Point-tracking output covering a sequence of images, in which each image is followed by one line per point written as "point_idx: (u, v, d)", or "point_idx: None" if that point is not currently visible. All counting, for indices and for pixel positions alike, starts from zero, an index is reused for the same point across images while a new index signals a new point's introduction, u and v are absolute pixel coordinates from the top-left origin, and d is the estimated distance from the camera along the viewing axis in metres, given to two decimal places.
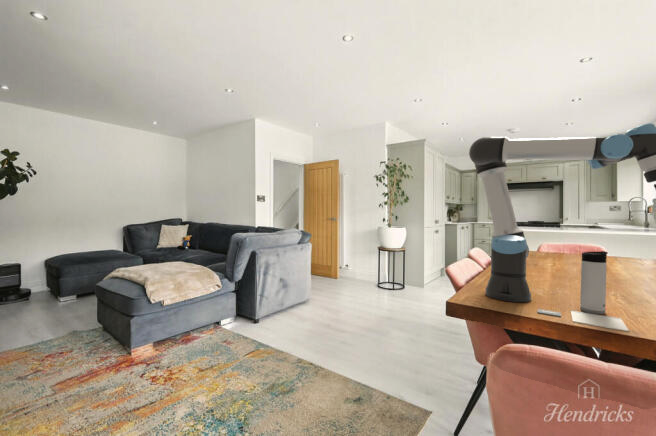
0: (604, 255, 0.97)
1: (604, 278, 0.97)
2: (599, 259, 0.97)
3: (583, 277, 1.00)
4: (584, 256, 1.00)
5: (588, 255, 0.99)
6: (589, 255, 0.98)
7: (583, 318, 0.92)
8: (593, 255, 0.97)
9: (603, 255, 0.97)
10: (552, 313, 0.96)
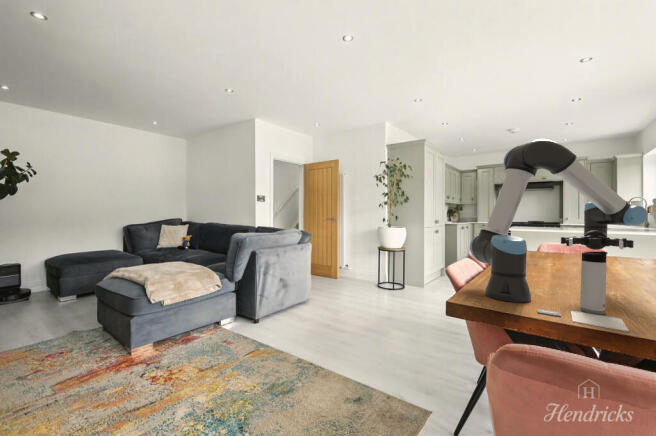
0: (604, 255, 0.97)
1: (604, 278, 0.97)
2: (599, 259, 0.97)
3: (583, 277, 1.00)
4: (584, 256, 1.00)
5: (588, 255, 0.99)
6: (589, 255, 0.98)
7: (583, 318, 0.92)
8: (593, 255, 0.97)
9: (603, 255, 0.97)
10: (552, 313, 0.96)
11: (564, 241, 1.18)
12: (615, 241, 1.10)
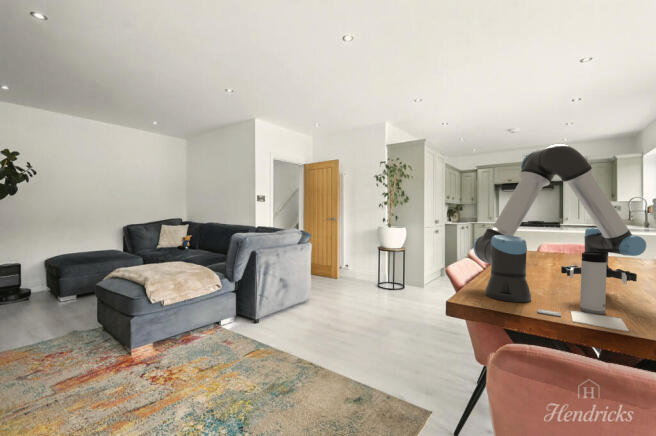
0: (604, 255, 0.97)
1: (604, 278, 0.97)
2: (599, 259, 0.97)
3: (583, 277, 1.00)
4: (584, 256, 1.00)
5: (588, 255, 0.99)
6: (589, 255, 0.98)
7: (583, 318, 0.92)
8: (593, 255, 0.97)
9: (603, 255, 0.97)
10: (552, 313, 0.96)
11: (565, 271, 1.14)
12: (617, 273, 1.06)
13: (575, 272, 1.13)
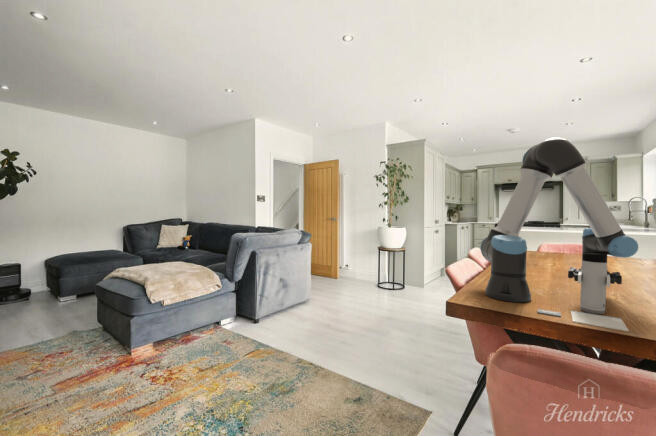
0: (605, 255, 0.97)
1: (605, 278, 0.97)
2: (600, 259, 0.97)
3: (583, 277, 1.00)
4: (585, 256, 1.00)
5: (589, 255, 0.98)
6: (590, 255, 0.98)
7: (583, 318, 0.92)
8: (594, 255, 0.97)
9: (604, 255, 0.96)
10: (552, 313, 0.96)
11: (572, 275, 1.05)
12: None
13: None
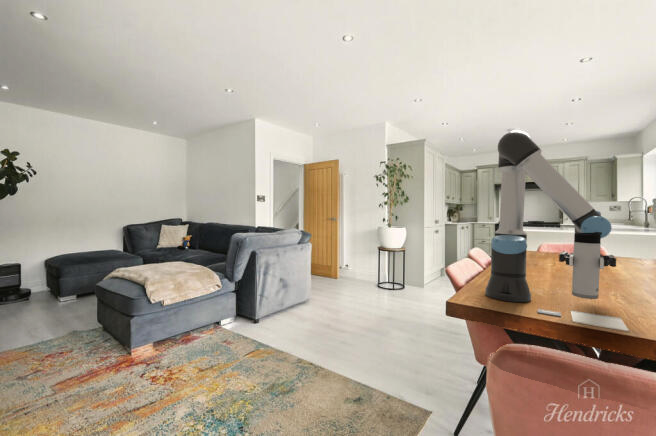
0: (598, 235, 0.90)
1: (598, 260, 0.90)
2: (593, 239, 0.90)
3: (575, 260, 0.93)
4: (577, 237, 0.93)
5: (581, 236, 0.91)
6: (582, 236, 0.91)
7: (583, 318, 0.92)
8: (586, 235, 0.90)
9: (597, 235, 0.89)
10: (552, 313, 0.96)
11: (563, 259, 0.98)
12: None
13: None
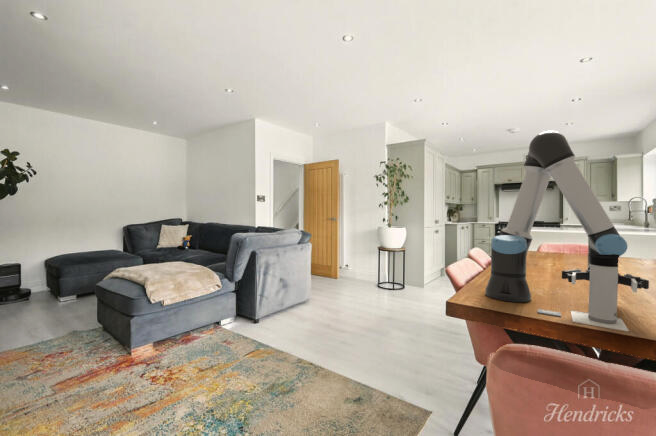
0: (616, 258, 0.87)
1: (616, 284, 0.87)
2: (610, 263, 0.87)
3: (592, 283, 0.90)
4: (593, 259, 0.90)
5: (598, 258, 0.89)
6: (599, 258, 0.89)
7: (583, 318, 0.92)
8: (603, 258, 0.88)
9: (615, 258, 0.87)
10: (552, 313, 0.96)
11: (566, 276, 0.99)
12: (626, 279, 0.91)
13: (578, 278, 0.98)
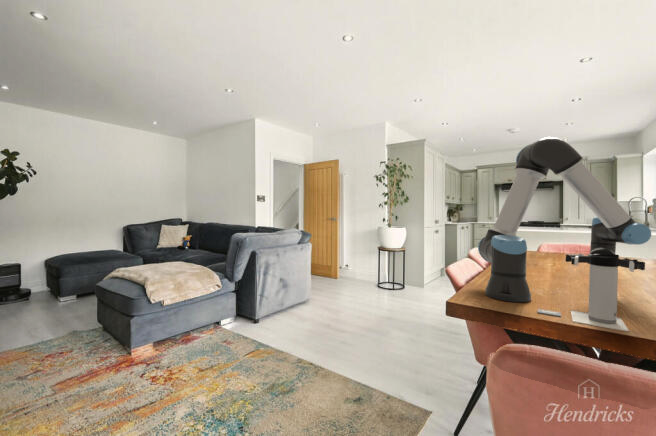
0: (615, 258, 0.87)
1: (615, 284, 0.87)
2: (610, 263, 0.87)
3: (592, 283, 0.90)
4: (593, 259, 0.90)
5: (597, 258, 0.89)
6: (598, 258, 0.89)
7: (583, 318, 0.92)
8: (603, 258, 0.88)
9: (614, 258, 0.87)
10: (552, 313, 0.96)
11: (569, 259, 1.10)
12: (625, 262, 1.01)
13: (580, 261, 1.09)
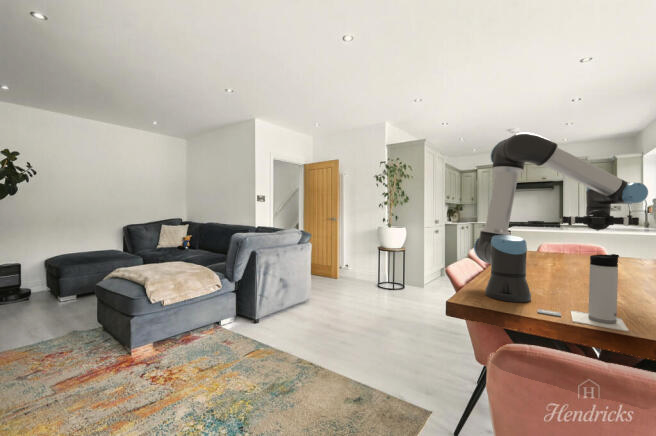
0: (615, 258, 0.87)
1: (616, 284, 0.87)
2: (610, 263, 0.87)
3: (592, 283, 0.90)
4: (593, 259, 0.90)
5: (597, 258, 0.89)
6: (598, 258, 0.89)
7: (583, 318, 0.92)
8: (603, 258, 0.88)
9: (614, 258, 0.87)
10: (552, 313, 0.96)
11: (566, 220, 1.13)
12: (619, 219, 1.05)
13: (576, 221, 1.12)
